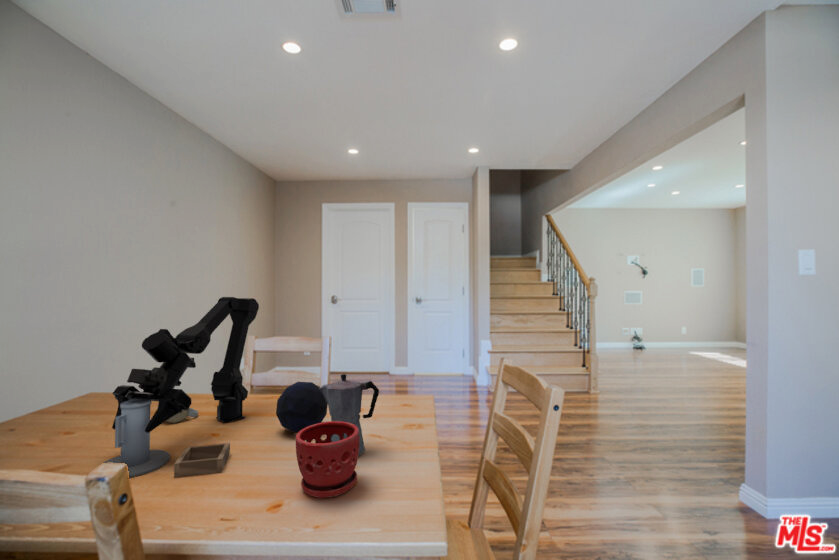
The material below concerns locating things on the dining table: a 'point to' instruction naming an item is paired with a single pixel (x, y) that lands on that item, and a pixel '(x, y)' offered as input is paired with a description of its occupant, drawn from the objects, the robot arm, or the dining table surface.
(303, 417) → the decorative orb
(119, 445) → the jug
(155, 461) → the rubber mat
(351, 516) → the dining table surface
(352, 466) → the plant pot
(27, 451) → the dining table surface
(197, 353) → the robot arm
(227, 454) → the jug holder
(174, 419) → the ceramic mug
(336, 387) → the moka pot
